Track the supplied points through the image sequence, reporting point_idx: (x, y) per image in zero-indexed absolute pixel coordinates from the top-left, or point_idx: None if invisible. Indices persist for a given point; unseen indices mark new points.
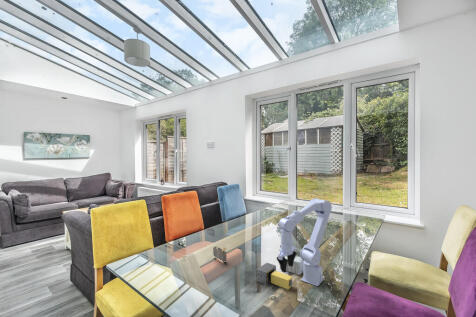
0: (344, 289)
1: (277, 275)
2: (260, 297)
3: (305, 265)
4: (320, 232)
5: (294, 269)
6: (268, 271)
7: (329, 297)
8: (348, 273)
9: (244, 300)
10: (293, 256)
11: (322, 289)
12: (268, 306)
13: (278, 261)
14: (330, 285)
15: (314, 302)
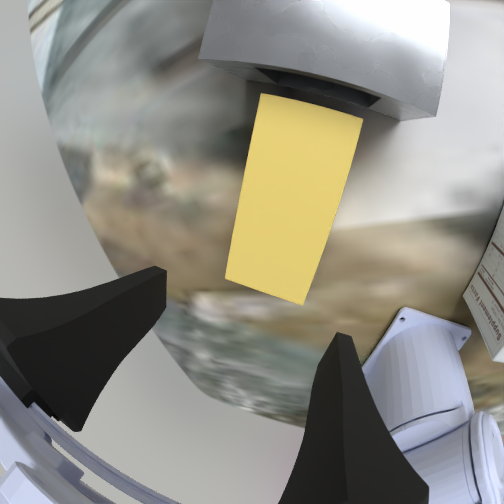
0: None
1: (264, 168)
2: (121, 112)
3: (399, 423)
4: None
5: (492, 276)
6: (248, 63)
7: (279, 400)
8: None
9: (84, 67)
10: (288, 491)
11: None
12: (94, 178)
13: (31, 305)
14: None
15: (217, 355)
